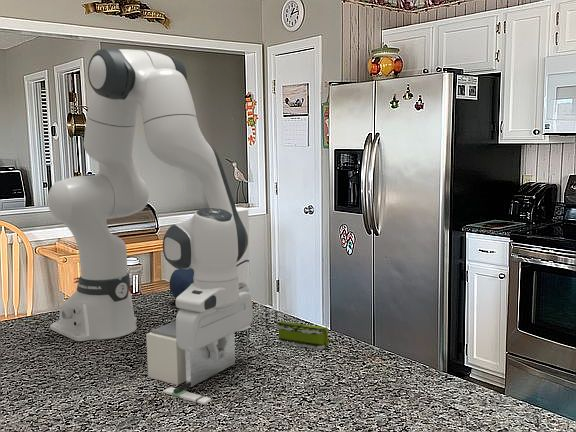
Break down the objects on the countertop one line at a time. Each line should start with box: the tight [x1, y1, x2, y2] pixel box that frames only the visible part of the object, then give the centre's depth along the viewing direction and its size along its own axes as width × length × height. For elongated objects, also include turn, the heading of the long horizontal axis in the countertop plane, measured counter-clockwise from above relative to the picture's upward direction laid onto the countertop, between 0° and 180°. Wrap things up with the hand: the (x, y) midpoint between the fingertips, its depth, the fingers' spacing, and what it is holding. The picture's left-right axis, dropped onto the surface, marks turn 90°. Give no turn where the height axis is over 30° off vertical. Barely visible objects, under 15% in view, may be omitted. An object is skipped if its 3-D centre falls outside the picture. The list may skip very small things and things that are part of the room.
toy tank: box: [260, 320, 329, 350], centre depth 144 cm, size 7×19×10 cm
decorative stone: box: [169, 268, 194, 300], centre depth 176 cm, size 12×12×10 cm
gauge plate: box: [174, 332, 236, 393], centre depth 125 cm, size 11×18×8 cm, turn 148°
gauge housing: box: [145, 320, 212, 405], centre depth 123 cm, size 18×18×10 cm
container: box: [235, 206, 251, 332], centre depth 154 cm, size 9×9×30 cm
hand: (218, 358), depth 123 cm, fingers closed
